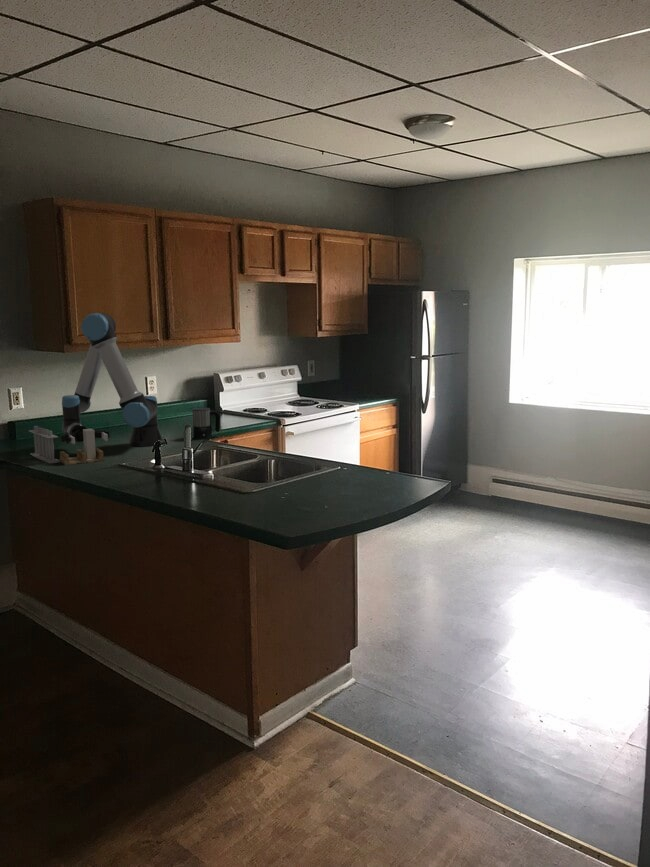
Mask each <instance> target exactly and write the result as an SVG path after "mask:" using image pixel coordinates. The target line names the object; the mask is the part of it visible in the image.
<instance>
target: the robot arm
mask: <svg viewBox="0 0 650 867" xmlns="http://www.w3.org/2000/svg"><path fill="white" fill-rule="evenodd" d="M80 327H81V328H80V329H81V333H82V334H83V336H84V337H85V338H86V339H87V340H89V343H90V344H89V348H88V351H87V354H86V358H85V360H84V363H83V367H82V370H81V373H80V377H79V378H78V383H77V385H76V388H75V391H74V394H68V395H63V396H62V397H61V408H62V419H63V420H62V426H61V431H62V433H63V434H62V435H61V440H60V441H61V442H62V443H64V442H66V444H70V443H71V444H72V445H75V444H76V443H77V442H78V443H82V442H84V440H83V429H88V428H87V427H86V425H83V424H82V421H81V420H82V419H81V413H84V412H86V411H88V410H89V409H90V407H91V404H92V402H91V398H92V395H93V392H94V389H95V386H96V384H97V381H98V377H99V374H100V372H101V368H102V364H104V367H105V369H106V371H107V372H108V375H109V377H110V380H111V382H112V384H113V386H114V388H115V390H116V392H117V394H118V396H119V402H118V404H119V407H120V409H121V411H122V412H121V417H122V420H123V422H124V423H125V424H126V425H127V426H129V427H131V428H132V431H131V434H130V437H129V445H130V446H133V447H152V446H153V447H154V446H155V445H154V443H155V442H156V441H158V440H162V441H163V437H162V434H161V432H160V429H159V423H158V422H159V421H158V419H159V418H158V399H157V397H156V396H155V395H145V394H144V392H142V391H139V390H138V387H137V386H136V384H135V381H134V379H133V377H132V374H131V372H130V371H129V368H128V367H127V364H126V362H125V360H124V358H123V355H122V353H121V351H120V349H119V347H118V345H117V343H116V342H117V339H118V337H117V334H116V331H117V324H116V321H115V319H114V318H113V317H112V316H111V315H109V314H108V313H104V312H103V313H102V312H101V313H99V312H93V313H90V314H88V315H86V316H85V317H84V318H83V320H82V321H81V325H80ZM93 430H94V434H95V438H96V439H102V440H103V441H105V442H108V441H109V438H110V431H106V430H98V429H93Z"/></svg>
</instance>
